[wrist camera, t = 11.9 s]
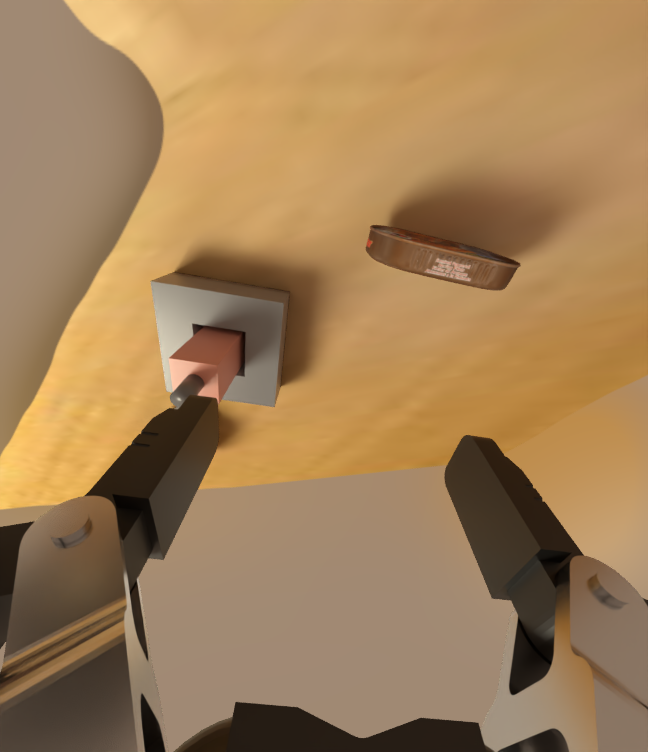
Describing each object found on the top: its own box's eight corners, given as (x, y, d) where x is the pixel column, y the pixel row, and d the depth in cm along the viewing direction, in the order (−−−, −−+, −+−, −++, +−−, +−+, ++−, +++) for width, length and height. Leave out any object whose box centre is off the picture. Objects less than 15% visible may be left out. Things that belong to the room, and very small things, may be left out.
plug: (212, 319, 36) (150, 374, 24) (247, 324, 36) (205, 382, 24) (213, 350, 38) (157, 416, 26) (247, 356, 38) (207, 423, 26)
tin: (495, 252, 32) (543, 264, 25) (482, 280, 34) (523, 299, 26) (367, 220, 31) (377, 224, 24) (359, 251, 32) (367, 263, 25)
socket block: (173, 272, 34) (150, 281, 30) (289, 291, 35) (283, 303, 31) (184, 372, 41) (166, 391, 37) (280, 386, 42) (274, 407, 38)
